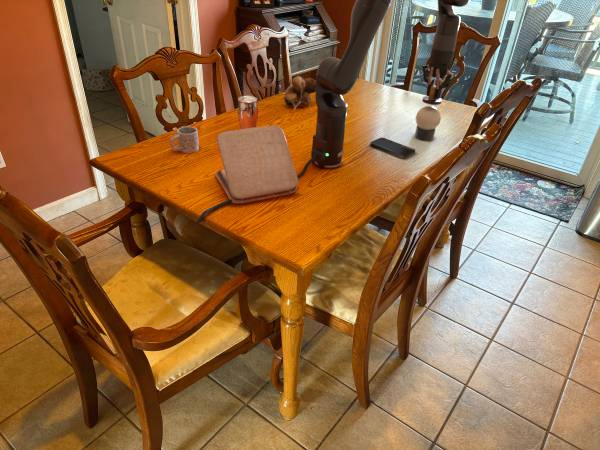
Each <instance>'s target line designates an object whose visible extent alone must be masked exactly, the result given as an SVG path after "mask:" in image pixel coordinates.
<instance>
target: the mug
mask: <svg viewBox="0 0 600 450" xmlns="http://www.w3.org/2000/svg"><path fill="white" fill-rule="evenodd" d="M176 132H177V134H175V135H173V136H172V137H171V138H170V141H169V143H170V149H171V150H172V151H173V152H175V151H179V152H181V153H184V154H192V153H196V152H198V151H199V150H200V143H199V133H198V128H197V127H194V126H182V127H181V126H180V127H178V129H177V130H176ZM175 140H177V143H178V146H176V147H175V143H174V142H175Z"/></svg>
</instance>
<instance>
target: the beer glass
mask: <svg viewBox="0 0 600 450" xmlns="http://www.w3.org/2000/svg"><path fill="white" fill-rule="evenodd" d="M237 116H238V122H239V127H240V130H241V129H246V128H255V127H257V124H258V117H259V103H258V98H257V97H256V96H253V95H241V96H239V97H238V98H237Z"/></svg>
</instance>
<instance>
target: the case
mask: <svg viewBox="0 0 600 450" xmlns="http://www.w3.org/2000/svg"><path fill="white" fill-rule="evenodd" d="M216 142H217V146H218V151H219V154H220V158H221V162H222V166H223V168H222V169H219V170H217V171H216V172H215V177H216V179H217V181H218V182H219V184H220V186H221V187H222V189H223V191H224V192H225V195H226V196H227V198H228V200H232V203H231V204H236V205H241V204H247V203H252V202H258V201H262V200H268V199H272V198H278V197H282V196H288V195H293V194H295V193H296V192H297V190H298V189H297V188H298V185H299V178H297V175H298V174H297V171H296V168H295V165H294V162H293V158H292V155H291V150H290V148H289V145H288V141H287V138H286V134H285V131H284V130H283V129H282V127H280V126H278V125H267V126H256V127H255V128H246V129H241V128H240V129H235V130H226V131H223V132H220V133H219V134H218V135H217V138H216Z"/></svg>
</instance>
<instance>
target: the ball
mask: <svg viewBox="0 0 600 450" xmlns="http://www.w3.org/2000/svg"><path fill="white" fill-rule="evenodd" d="M441 120H442V115H441V112H440V111H439V109H438V108H437V107H435V106H434V105H425V106H423V107H421V108H420V109H419V110H418V111H417V112H416V115H415V123H416V126H417V125H418V127H419V128H421V129H423V130H433V129H435V128H436V129H437V127H438V126H440V123H441Z"/></svg>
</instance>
